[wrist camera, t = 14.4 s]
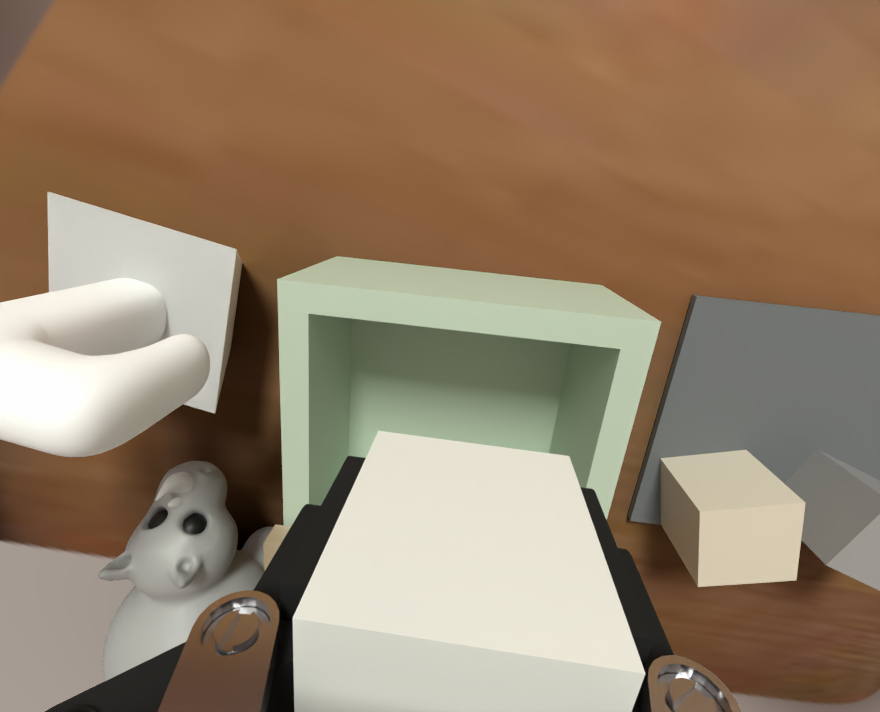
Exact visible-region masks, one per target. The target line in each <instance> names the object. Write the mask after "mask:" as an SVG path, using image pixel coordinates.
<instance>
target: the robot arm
mask: <svg viewBox="0 0 880 712" xmlns="http://www.w3.org/2000/svg"><path fill="white" fill-rule="evenodd" d="M365 459H366V458H363V457H355V456H348V457H347V458H346V460H345V462H344V463H343V465H342V467H341V469H340V471H339V473H338V475H337V477H336V478H335V480H334V482H333V484H332V486H331V488H330V490H329V492H328V493H327V495H326V497H325V499H324V501H323V503H322V505H321V506H319V505H312V504H306V505H304V507H303V508H302V509H301V511H300V513H299V514H298V516H297V518H296V519H295V521H294V523H293V524H292V526H291V528H290V529H289V531H288V533H287V534H286V536H285V538H284V540H283V541H282V543H281V545H280V546H279V548H278V550H277V551H276V553H275V555H274V556H273V558H272V560H271V561H270V563H269V565H268V567H267V568H266V570H265V572H264V573H263V575H262V577H261V578H260V580H259V582H258V583H257V585H256V587H255V588H254V590H253V591H251V590H245V591H239V592H234V593H231V594H229V595H226V596H224V597H221V598H220V599H218V600H217V601H215V602H213V603H212V604H210V605H209V606H208V607H207V608H206V609H205V610H204V611H203V612H202V613H201V614H200V615H199V617H198V618H197V620H196V622H195V623H194V625H193V627H192V629H191V631H190V634H189V636H188V639H187V641H186V642H184V643H182V644H180V645H178V646H176V647H174V648H172V649H170V650H168V651H166V652H164V653H162V654H160V655H158V656H156V657H154V658H152V659H150V660H148V661H145V662H143V663H141V664H139V665H137V666H135V667H133V668H131V669H129V670H127V671H125V672H123V673H121V674H119V675H117V676H115V677H113V678H111V679H109V680H107V681H105V682H103V683H101V684H99V685H97V686H95V687H93V688H90V689H88V690H86V691H84V692H82V693H80V694H78V695H76V696H74V697H72V698H71V699H68V700H66V701H64V702H62V703H60V704H58V705H56V706H54V707H52V708H50V709H49V710H47V711H45V712H294V667H293V616H294V614H295V612H296V610H297V607H298V605H299V603H300V601H301V599H302V596H303V594H304V592H305V590H306V588H307V586H308V583H309V581H310V579H311V577H312V575H313V572H314V570H315V568H316V566H317V564H318V562H319V559H320V557H321V555H322V553H323V551H324V548H325V546H326V544H327V542H328V540H329V537H330V535H331V533H332V531H333V529H334V527H335V524H336V522H337V520H338V518H339V516H340V513H341V511H342V509H343V507H344V505H345V503H346V500H347V498H348V496H349V494H350V492H351V489H352V487H353V485H354V483H355V481H356V479H357V476H358V474H359V472H360V470H361V468H362V465H363V463H364V461H365ZM580 488H581V491H582V494H583V497H584V499H585V502H586V505H587V508H588V511H589V514H590V517H591V519H592V522H593V525H594V528H595V531H596V534H597V537H598V539H599V542H600V545H601V548H602V551H603V554H604V557H605V559H606V562H607V565H608V568H609V571H610V574H611V577H612V579H613V582H614V585H615V588H616V591H617V594H618V597H619V599H620V602H621V605H622V608H623V611H624V614H625V617H626V619H627V622H628V625H629V628H630V631H631V634H632V637H633V639H634V642H635V645H636V648H637V651H638V654H639V657H640V659H641V662H642V665H643V668H644V671H645V677H644V679H643V682H642V685H641V687H640V690H639V693H638V696H637V698H636V701H635V704H634V707H633V709H632V712H741V710H740V708H739V706H738V703H737V702H736V700H735V698H734V697H733V695H732V694H731V693H730V691H729V690H728V688H727V687H726V686H725V685H724V684H723V683H722V682H721V681H720V680H719V679H718V678H717V677H716V676H715V675H714V674H713V673H711V672H710V671H708V670H707V669H706V668H704V667H703V666H701V665H700V664H698V663H696V662H693V661H691V660H689V659H687V658H684V657H679V656H675V655H674V654H673V652H672V650H671V647H670V645H669V643H668V640H667V638H666V636H665V633H664V631H663V628H662V626H661V624H660V621H659V619H658V617H657V614H656V612H655V610H654V607H653V605H652V603H651V600H650V598H649V596H648V593H647V591H646V589H645V586H644V584H643V582H642V579H641V577H640V575H639V572H638V570H637V568H636V565H635V563H634V561H633V558H632V556H631V555H630V553H629V552H628V551H627V550H626V549H620V548H617V545H616V543H615V540H614V538H613V535H612V533H611V530H610V528H609V525H608V523H607V520H606V518H605V515H604V513H603V510H602V508H601V505H600V503H599V500H598V498H597V495H596V493H595V491H594V489H590V488H583V487H580Z"/></svg>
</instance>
